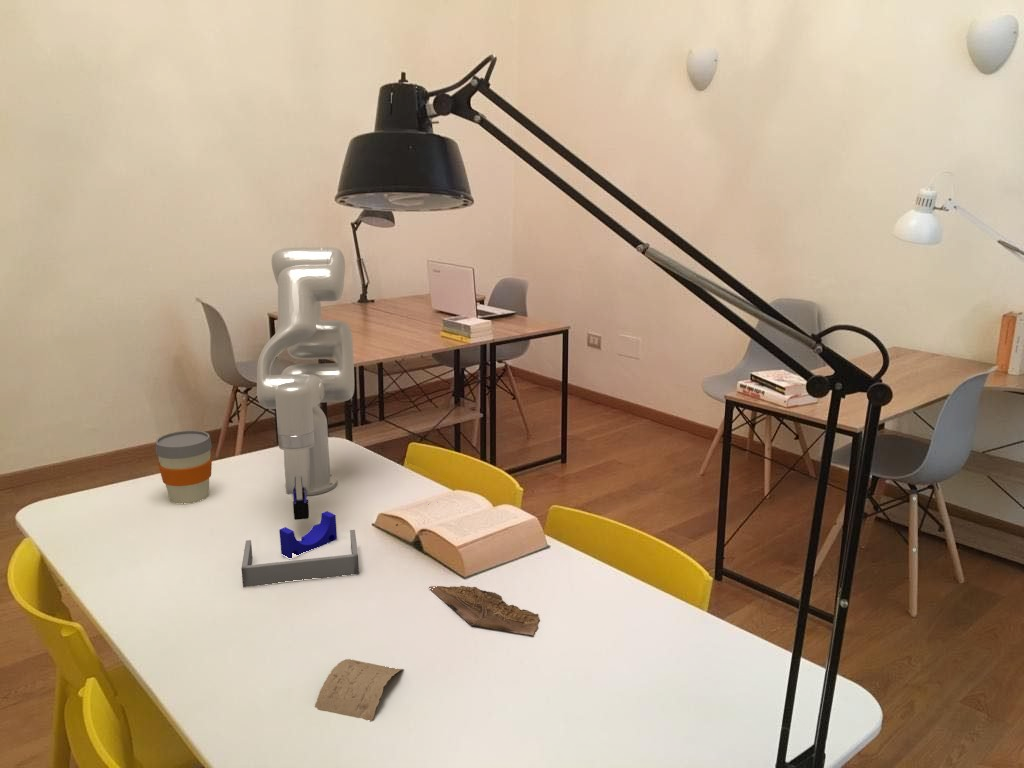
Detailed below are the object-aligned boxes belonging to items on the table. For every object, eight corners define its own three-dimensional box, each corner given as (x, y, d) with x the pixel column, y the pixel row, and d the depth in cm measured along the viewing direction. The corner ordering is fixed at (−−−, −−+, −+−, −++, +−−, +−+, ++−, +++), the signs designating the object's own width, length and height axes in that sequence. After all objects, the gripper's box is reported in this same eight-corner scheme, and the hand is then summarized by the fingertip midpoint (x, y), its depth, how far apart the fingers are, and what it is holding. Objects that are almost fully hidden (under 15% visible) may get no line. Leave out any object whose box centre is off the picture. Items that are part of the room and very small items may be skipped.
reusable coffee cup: (205, 507, 187) (198, 447, 183) (152, 507, 187) (144, 447, 183) (224, 486, 199) (218, 430, 195) (174, 486, 199) (168, 429, 195)
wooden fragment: (555, 624, 141) (555, 619, 141) (514, 651, 133) (514, 646, 133) (454, 576, 158) (454, 571, 157) (412, 597, 150) (412, 592, 149)
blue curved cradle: (324, 534, 175) (322, 509, 173) (337, 540, 172) (335, 514, 170) (277, 553, 166) (275, 527, 164) (289, 560, 163) (287, 533, 161)
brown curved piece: (372, 727, 115) (371, 711, 115) (308, 716, 118) (307, 700, 117) (407, 668, 129) (406, 654, 128) (349, 659, 131) (349, 645, 131)
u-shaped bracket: (247, 558, 163) (245, 540, 162) (355, 546, 168) (354, 529, 167) (243, 587, 152) (241, 568, 151) (359, 574, 157) (358, 555, 156)
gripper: (279, 430, 177) (285, 506, 182) (277, 451, 163) (283, 533, 168) (314, 428, 179) (318, 503, 184) (314, 448, 165) (319, 530, 169)
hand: (301, 517), depth 176 cm, fingers closed
